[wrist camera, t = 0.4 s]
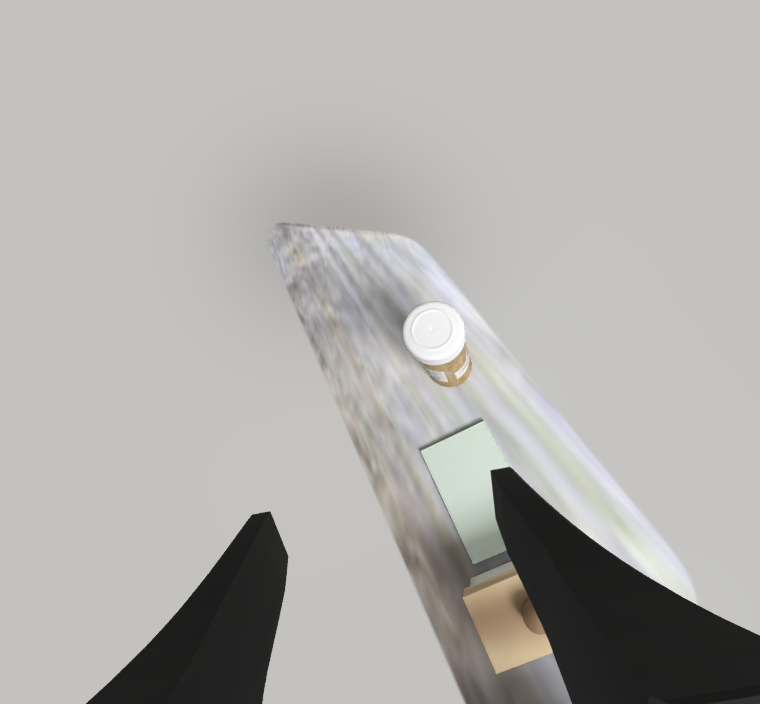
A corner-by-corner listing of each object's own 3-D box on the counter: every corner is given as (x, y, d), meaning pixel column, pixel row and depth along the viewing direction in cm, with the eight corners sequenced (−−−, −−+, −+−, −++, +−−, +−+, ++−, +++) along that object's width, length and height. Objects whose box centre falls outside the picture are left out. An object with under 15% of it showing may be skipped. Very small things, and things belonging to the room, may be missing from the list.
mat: (544, 533, 34) (545, 533, 34) (473, 563, 35) (473, 564, 35) (484, 420, 38) (484, 420, 38) (421, 451, 39) (420, 451, 38)
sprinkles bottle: (479, 375, 39) (476, 341, 26) (439, 395, 40) (418, 371, 27) (458, 337, 41) (445, 288, 28) (420, 357, 41) (390, 318, 29)
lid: (608, 616, 29) (622, 635, 26) (495, 660, 31) (497, 683, 28) (568, 544, 31) (577, 555, 28) (463, 588, 32) (461, 603, 29)
